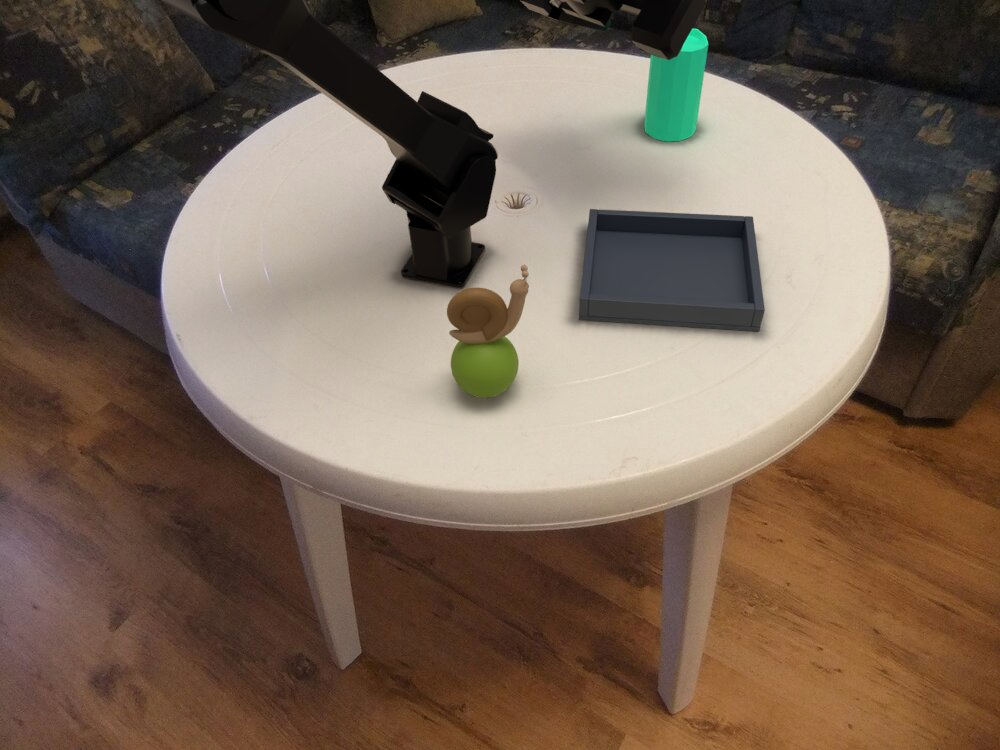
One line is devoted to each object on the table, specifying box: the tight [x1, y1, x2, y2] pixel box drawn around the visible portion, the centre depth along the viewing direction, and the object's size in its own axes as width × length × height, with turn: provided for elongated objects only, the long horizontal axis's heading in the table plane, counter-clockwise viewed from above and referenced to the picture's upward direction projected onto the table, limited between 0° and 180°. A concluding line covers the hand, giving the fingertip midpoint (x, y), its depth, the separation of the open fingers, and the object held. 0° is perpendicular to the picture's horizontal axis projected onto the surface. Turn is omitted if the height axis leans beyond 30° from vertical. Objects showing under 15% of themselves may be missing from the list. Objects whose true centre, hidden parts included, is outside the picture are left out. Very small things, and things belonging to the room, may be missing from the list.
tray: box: [578, 208, 766, 332], centre depth 73 cm, size 16×14×2 cm
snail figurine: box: [446, 264, 530, 398], centre depth 61 cm, size 5×6×12 cm
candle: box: [643, 27, 709, 142], centre depth 89 cm, size 6×6×12 cm
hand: (641, 39), depth 81 cm, fingers open, 9 cm apart
